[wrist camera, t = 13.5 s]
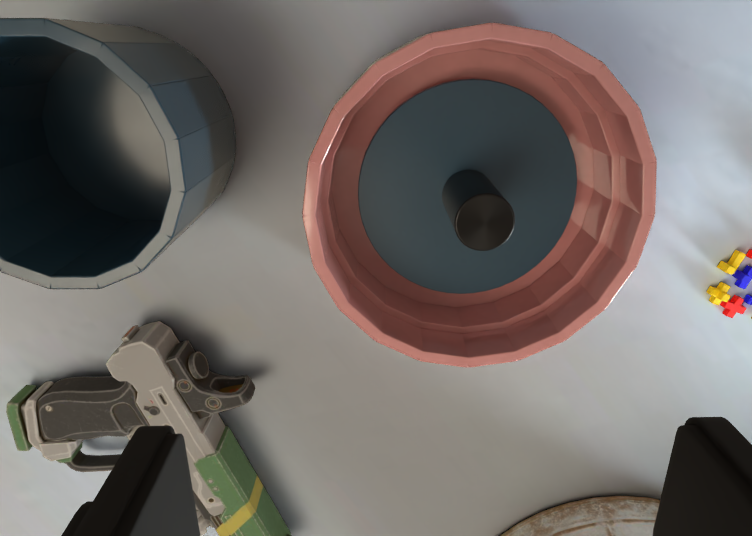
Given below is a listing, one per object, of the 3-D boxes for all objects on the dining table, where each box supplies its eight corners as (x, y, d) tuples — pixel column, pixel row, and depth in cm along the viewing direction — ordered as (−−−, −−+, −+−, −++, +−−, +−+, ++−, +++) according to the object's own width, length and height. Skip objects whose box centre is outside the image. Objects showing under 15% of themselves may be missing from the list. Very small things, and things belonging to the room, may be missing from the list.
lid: (359, 286, 31) (356, 338, 26) (356, 78, 27) (351, 85, 22) (556, 286, 31) (596, 338, 26) (584, 77, 27) (638, 85, 22)
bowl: (256, 187, 30) (231, 215, 25) (474, -47, 26) (498, -70, 21) (451, 364, 34) (464, 420, 29) (665, 186, 30) (725, 215, 25)
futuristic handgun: (133, 610, 38) (334, 558, 36) (-34, 396, 32) (197, 316, 29) (150, 574, 41) (337, 523, 38) (-2, 369, 34) (213, 293, 32)
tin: (60, 227, 31) (-50, 289, 23) (16, 27, 27) (-134, 18, 19) (244, 227, 31) (198, 289, 23) (225, 26, 27) (163, 17, 19)
